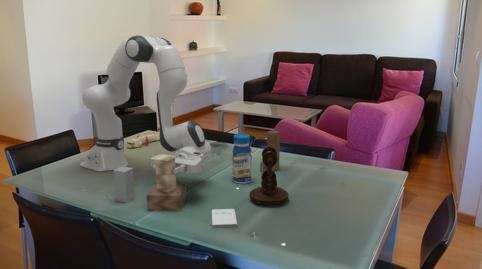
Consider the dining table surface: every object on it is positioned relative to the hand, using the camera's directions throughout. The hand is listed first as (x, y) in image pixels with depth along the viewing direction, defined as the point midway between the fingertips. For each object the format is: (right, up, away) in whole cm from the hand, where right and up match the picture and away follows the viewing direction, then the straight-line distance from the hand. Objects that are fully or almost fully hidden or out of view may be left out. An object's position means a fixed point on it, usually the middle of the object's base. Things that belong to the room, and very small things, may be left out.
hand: (164, 169), depth 154 cm
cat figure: (-26, +7, +87) cm, 91 cm away
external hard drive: (+22, -17, -9) cm, 29 cm away
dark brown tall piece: (+38, -12, +8) cm, 41 cm away
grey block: (-16, -12, +8) cm, 22 cm away
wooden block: (+41, -4, +42) cm, 59 cm away
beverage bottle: (+28, -7, +28) cm, 40 cm away
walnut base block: (0, -13, +4) cm, 14 cm away
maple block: (0, -7, +3) cm, 8 cm away
